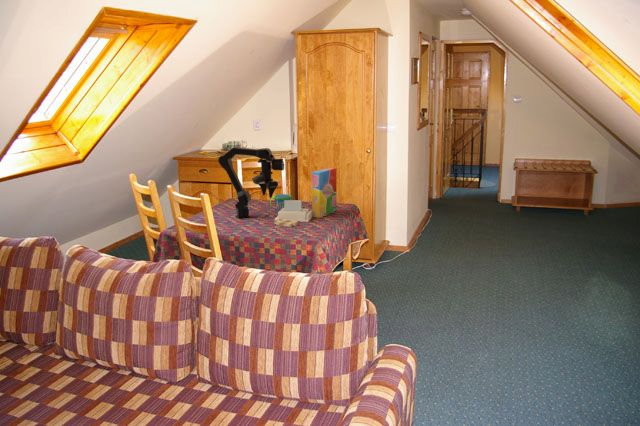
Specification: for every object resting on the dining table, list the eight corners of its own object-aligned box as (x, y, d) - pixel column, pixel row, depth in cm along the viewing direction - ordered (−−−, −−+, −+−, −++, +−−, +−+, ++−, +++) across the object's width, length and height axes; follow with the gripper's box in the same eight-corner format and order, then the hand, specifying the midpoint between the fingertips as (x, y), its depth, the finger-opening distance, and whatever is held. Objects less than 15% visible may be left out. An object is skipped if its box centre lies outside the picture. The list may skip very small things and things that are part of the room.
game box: (319, 218, 337) (319, 172, 331) (311, 217, 340) (311, 172, 334) (336, 211, 355) (336, 167, 348) (329, 210, 357) (328, 167, 351)
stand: (274, 224, 325) (274, 220, 324) (281, 222, 329) (281, 218, 329) (291, 227, 318) (291, 223, 317) (297, 224, 323) (297, 221, 322)
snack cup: (294, 209, 361) (294, 193, 359) (296, 213, 351) (296, 196, 349) (269, 210, 359) (269, 194, 357) (270, 214, 349) (270, 197, 347)
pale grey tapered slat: (284, 217, 337) (284, 200, 334) (285, 216, 338) (284, 200, 336) (301, 217, 335) (300, 201, 333) (301, 217, 337) (301, 200, 334)
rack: (274, 220, 333) (274, 212, 332) (279, 215, 344) (279, 207, 343) (308, 221, 330) (308, 213, 328) (312, 216, 341) (312, 208, 340)
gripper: (247, 169, 337) (248, 195, 341) (260, 173, 321) (261, 200, 325) (264, 167, 342) (265, 193, 346) (278, 171, 327) (278, 198, 330)
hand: (267, 196), depth 337 cm, fingers open, 9 cm apart
